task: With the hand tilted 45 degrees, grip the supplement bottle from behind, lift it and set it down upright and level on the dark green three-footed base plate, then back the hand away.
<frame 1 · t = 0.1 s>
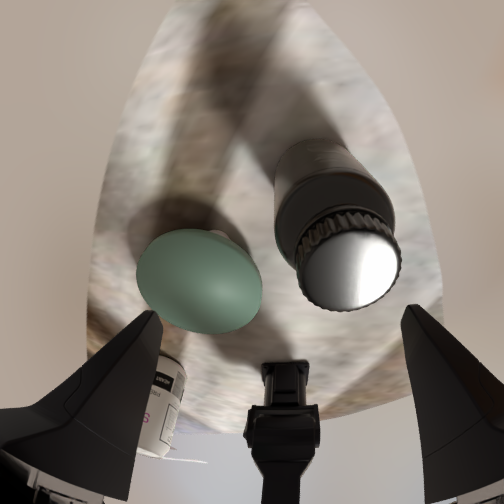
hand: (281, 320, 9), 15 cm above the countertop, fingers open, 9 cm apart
supplement bottle: (316, 178, 21), on the countertop
supplement can: (163, 365, 39), on the countertop
tribrach base plate: (202, 272, 27), on the countertop
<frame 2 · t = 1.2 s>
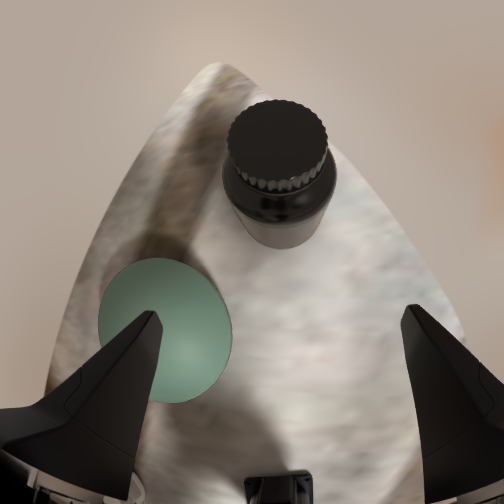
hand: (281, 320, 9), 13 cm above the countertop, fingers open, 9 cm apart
supplement bottle: (282, 213, 24), on the countertop
supplement can: (119, 477, 21), on the countertop
tribrach base plate: (170, 329, 23), on the countertop
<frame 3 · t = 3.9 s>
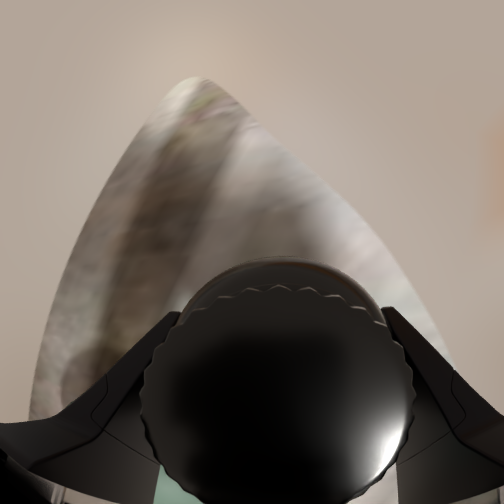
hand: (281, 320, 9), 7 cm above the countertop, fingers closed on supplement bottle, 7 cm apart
supplement bottle: (283, 337, 15), on the countertop, touching gripper
tribrach base plate: (142, 458, 14), on the countertop
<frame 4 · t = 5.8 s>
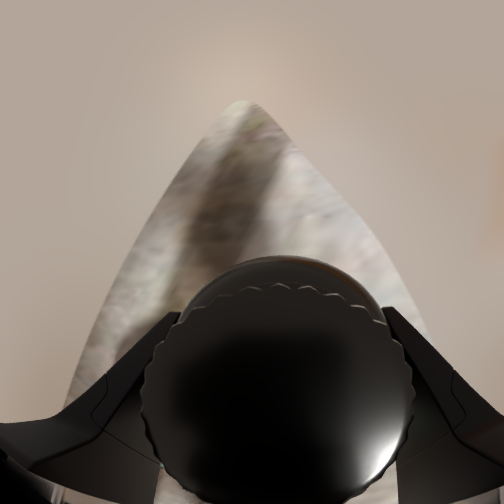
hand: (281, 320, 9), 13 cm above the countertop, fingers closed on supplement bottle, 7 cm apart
supplement bottle: (284, 336, 15), point 6 cm above the countertop, touching gripper
when the fingers open (11 cm above the countertop, at t = 8.0 s): supplement bottle drops 1 cm, resting on tribrach base plate.
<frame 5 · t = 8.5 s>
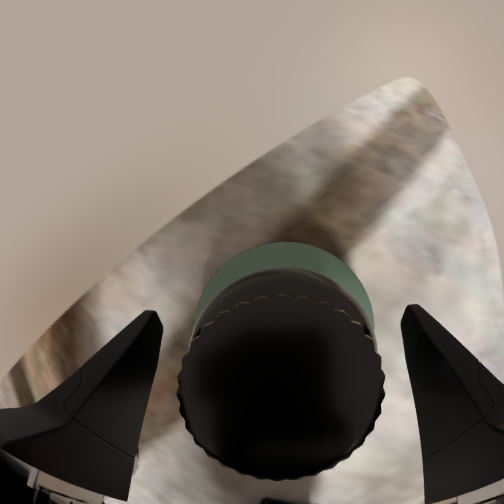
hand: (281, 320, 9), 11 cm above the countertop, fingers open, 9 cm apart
supplement bottle: (284, 336, 17), point 3 cm above the countertop, touching tribrach base plate
tribrach base plate: (284, 329, 20), on the countertop
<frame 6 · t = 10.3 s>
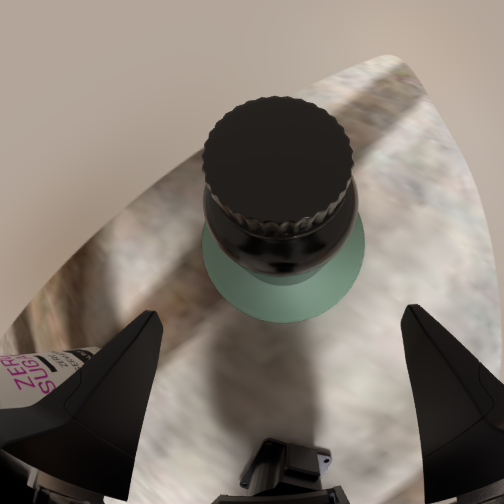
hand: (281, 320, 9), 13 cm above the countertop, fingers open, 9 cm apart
supplement bottle: (283, 240, 20), point 3 cm above the countertop, touching tribrach base plate
supplement can: (107, 384, 22), on the countertop
tribrach base plate: (283, 246, 22), on the countertop
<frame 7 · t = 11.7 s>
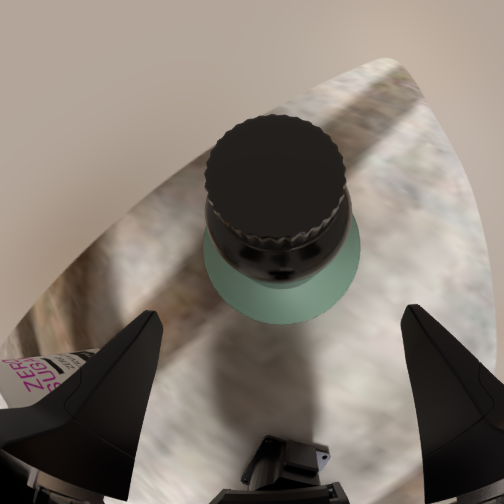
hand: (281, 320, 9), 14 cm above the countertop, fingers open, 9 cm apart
supplement bottle: (282, 245, 20), point 3 cm above the countertop, touching tribrach base plate
supplement can: (111, 385, 23), on the countertop
tribrach base plate: (282, 250, 23), on the countertop
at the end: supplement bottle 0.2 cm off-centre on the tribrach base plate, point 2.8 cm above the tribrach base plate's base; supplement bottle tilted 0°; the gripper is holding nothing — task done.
